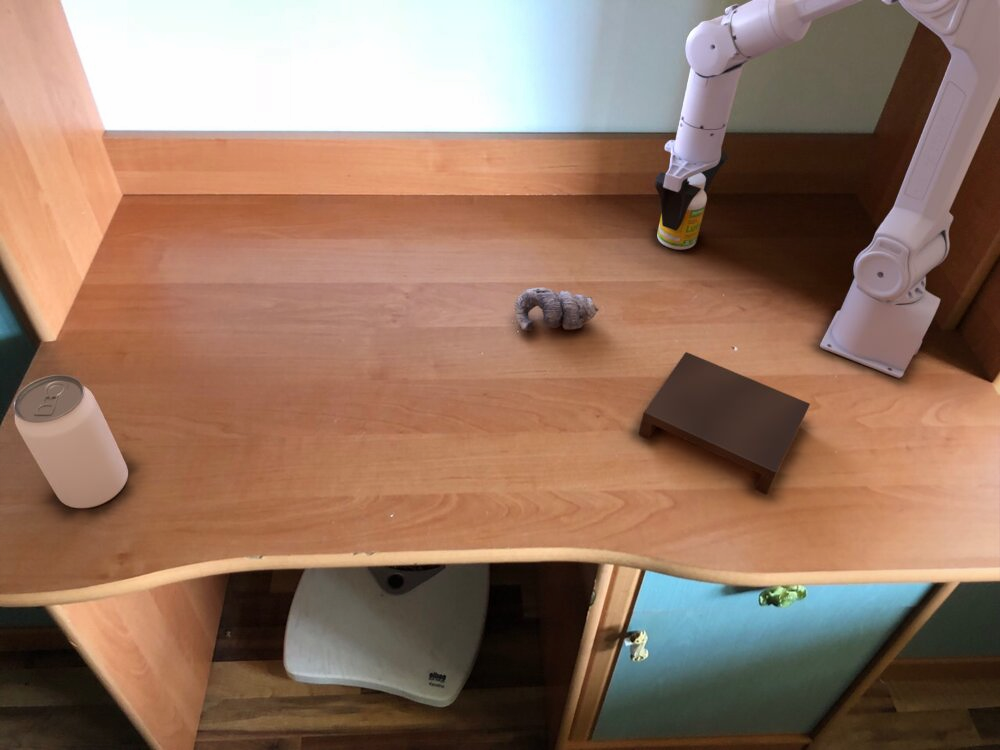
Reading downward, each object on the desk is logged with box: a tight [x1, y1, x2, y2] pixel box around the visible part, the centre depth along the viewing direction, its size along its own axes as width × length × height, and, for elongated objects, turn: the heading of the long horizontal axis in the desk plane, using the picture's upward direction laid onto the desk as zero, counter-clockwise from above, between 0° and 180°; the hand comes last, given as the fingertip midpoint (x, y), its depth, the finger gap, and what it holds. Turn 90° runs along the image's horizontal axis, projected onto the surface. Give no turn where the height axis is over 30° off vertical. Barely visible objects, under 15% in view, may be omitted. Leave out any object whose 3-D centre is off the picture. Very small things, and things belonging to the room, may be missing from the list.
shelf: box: [638, 351, 811, 495], centre depth 83 cm, size 14×11×4 cm
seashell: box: [514, 286, 600, 331], centre depth 94 cm, size 5×5×10 cm
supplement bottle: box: [656, 173, 708, 251], centre depth 106 cm, size 5×5×10 cm
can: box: [12, 374, 129, 509], centre depth 72 cm, size 6×6×12 cm
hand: (681, 213), depth 106 cm, fingers open, 7 cm apart
